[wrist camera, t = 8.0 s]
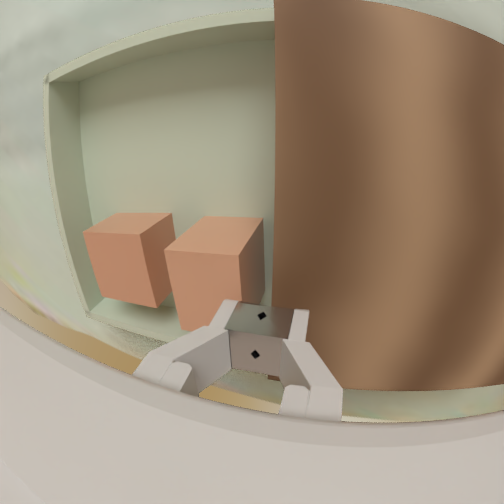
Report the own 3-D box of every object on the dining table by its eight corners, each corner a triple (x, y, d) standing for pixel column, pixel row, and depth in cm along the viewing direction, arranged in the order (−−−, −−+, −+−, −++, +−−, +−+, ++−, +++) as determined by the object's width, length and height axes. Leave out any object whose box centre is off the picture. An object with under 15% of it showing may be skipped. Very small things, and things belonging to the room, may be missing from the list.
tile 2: (204, 215, 14) (263, 218, 13) (212, 284, 16) (265, 289, 15) (163, 249, 10) (238, 255, 10) (181, 329, 12) (245, 340, 11)
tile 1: (82, 231, 13) (116, 212, 15) (102, 296, 14) (129, 271, 17) (139, 234, 12) (171, 212, 14) (157, 308, 13) (182, 278, 16)
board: (557, 108, 6) (599, 114, 2) (498, 341, 13) (516, 381, 9) (289, 31, 9) (273, -4, 6) (281, 328, 16) (267, 378, 13)
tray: (289, 31, 9) (278, 7, 7) (281, 328, 16) (271, 364, 14) (79, 75, 12) (43, 76, 10) (110, 294, 19) (86, 316, 17)
